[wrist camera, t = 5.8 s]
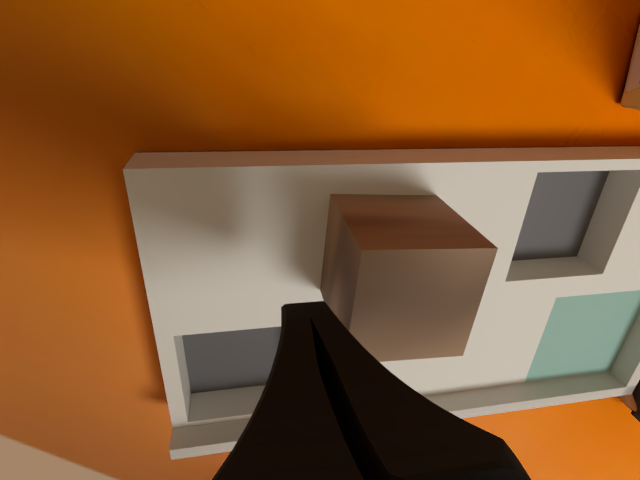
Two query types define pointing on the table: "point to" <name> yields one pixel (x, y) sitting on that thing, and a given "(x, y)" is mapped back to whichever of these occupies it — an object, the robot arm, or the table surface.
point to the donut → (633, 401)
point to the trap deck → (307, 261)
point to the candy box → (633, 79)
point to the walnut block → (404, 274)
